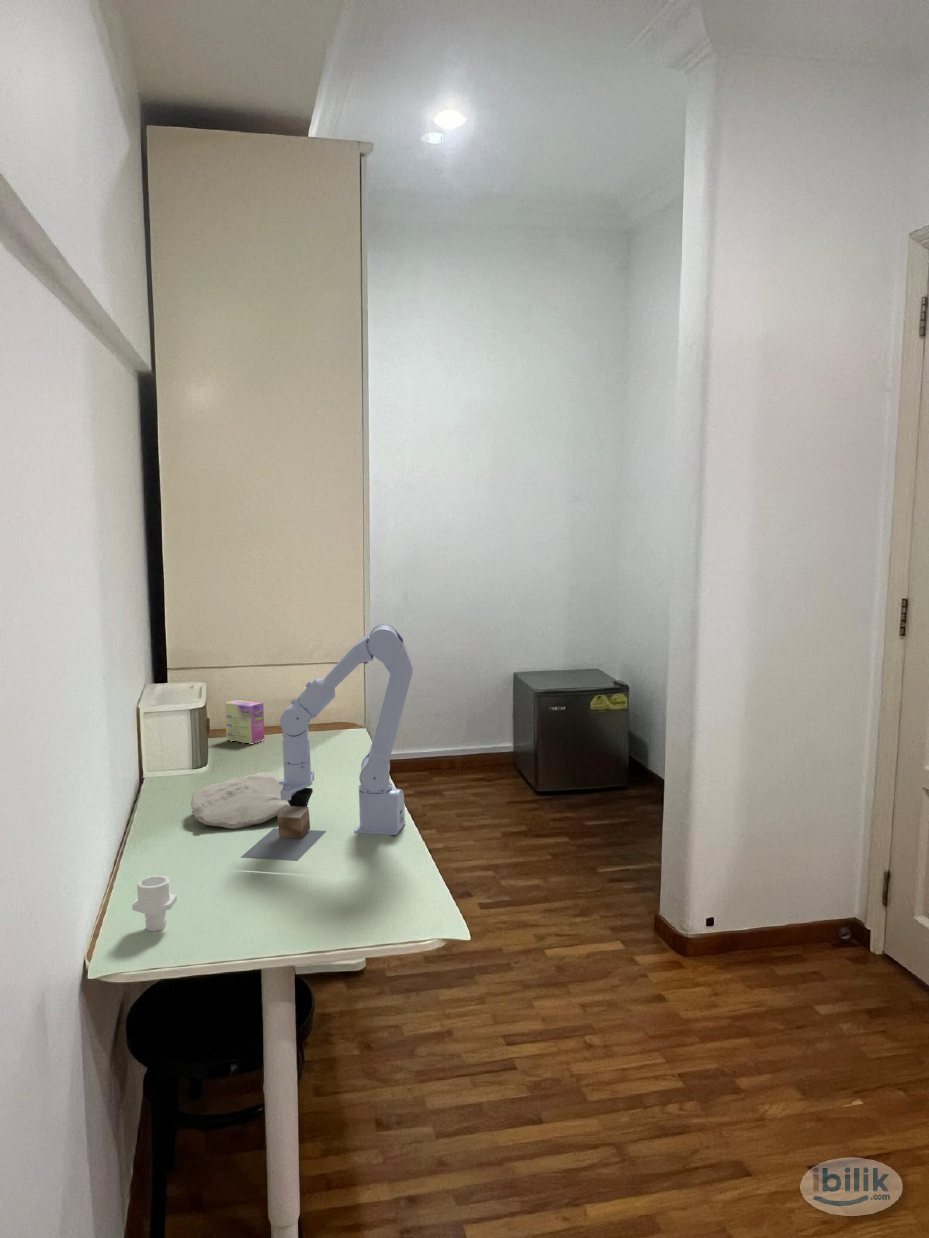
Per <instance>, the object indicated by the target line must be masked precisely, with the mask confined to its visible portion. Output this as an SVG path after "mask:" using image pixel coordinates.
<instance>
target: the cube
mask: <svg viewBox="0 0 929 1238" xmlns="http://www.w3.org/2000/svg"><path fill="white" fill-rule="evenodd" d="M277 825H278V828H279V838H290V839H302V838H303V837H304V836H305V835H306V833H307V832H308V831H309V830H311V823H310V810H309V807H308V806H307V807H298V806H286V807H285V808H284V809H283V810H282V811H281V812H280V814H279V815H277Z"/></svg>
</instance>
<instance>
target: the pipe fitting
mask: <svg viewBox="0 0 929 1238" xmlns="http://www.w3.org/2000/svg"><path fill="white" fill-rule="evenodd" d="M136 889H137V892H136V894H137V898H136V899H135V900H134V901H133V902H132V904H131V908H132V911H134V912H137V913H141V914H144V918H145V922H144V923H145V927H146V928H145V929H146V930H147V931H149V932H157V931H158V932H159V931H162V930H163V929H165V928H166V927H167V917H166V913H167V911H169V910H172V908H173V907H174V905H175V904H176V902H177V901H178V899H177V894H174V893H171V880H170V878H169V877H168V876H166V875H151V876H147V877H144V878H142V879H140V880H139V881H137V882H136Z"/></svg>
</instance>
